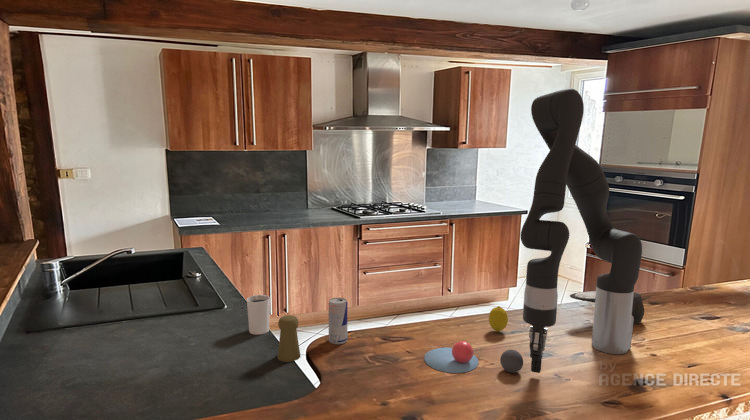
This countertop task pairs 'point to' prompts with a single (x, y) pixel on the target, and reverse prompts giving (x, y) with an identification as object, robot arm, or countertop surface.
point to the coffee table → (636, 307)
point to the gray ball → (511, 361)
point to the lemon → (498, 318)
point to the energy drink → (338, 320)
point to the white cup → (258, 314)
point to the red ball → (462, 352)
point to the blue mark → (448, 361)
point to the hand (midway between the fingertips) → (535, 371)
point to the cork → (288, 339)
